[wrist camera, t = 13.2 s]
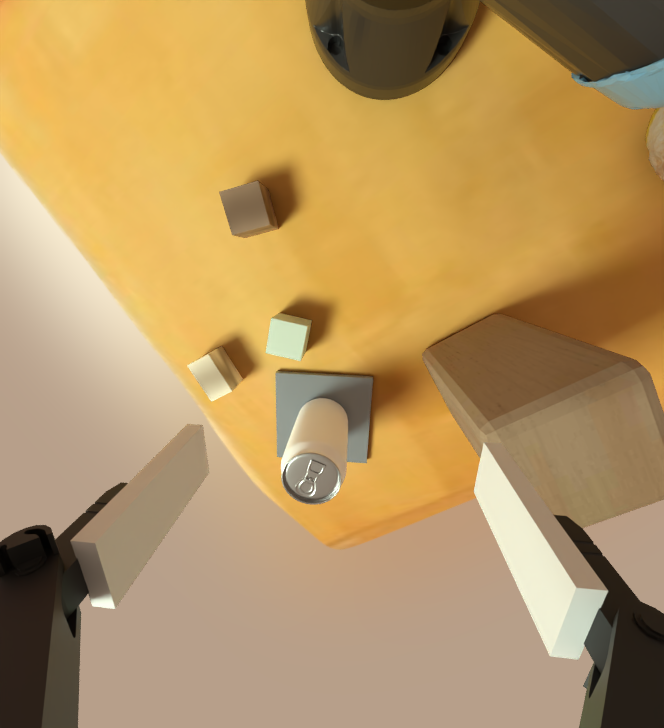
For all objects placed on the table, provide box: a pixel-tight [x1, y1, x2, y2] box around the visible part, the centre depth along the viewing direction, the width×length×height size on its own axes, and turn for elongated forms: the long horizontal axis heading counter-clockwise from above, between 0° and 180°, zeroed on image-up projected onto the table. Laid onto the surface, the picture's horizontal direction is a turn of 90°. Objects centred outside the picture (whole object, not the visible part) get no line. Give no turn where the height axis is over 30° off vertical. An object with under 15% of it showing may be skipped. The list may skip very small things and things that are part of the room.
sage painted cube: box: [266, 313, 312, 361], centre depth 37 cm, size 4×4×4 cm
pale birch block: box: [187, 346, 243, 402], centre depth 39 cm, size 5×3×4 cm, turn 28°
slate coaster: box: [276, 371, 373, 463], centre depth 41 cm, size 12×12×1 cm
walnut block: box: [219, 181, 279, 238], centre depth 33 cm, size 4×4×4 cm
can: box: [281, 398, 348, 504], centre depth 35 cm, size 6×6×12 cm
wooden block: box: [422, 314, 664, 528], centre depth 29 cm, size 10×10×20 cm
